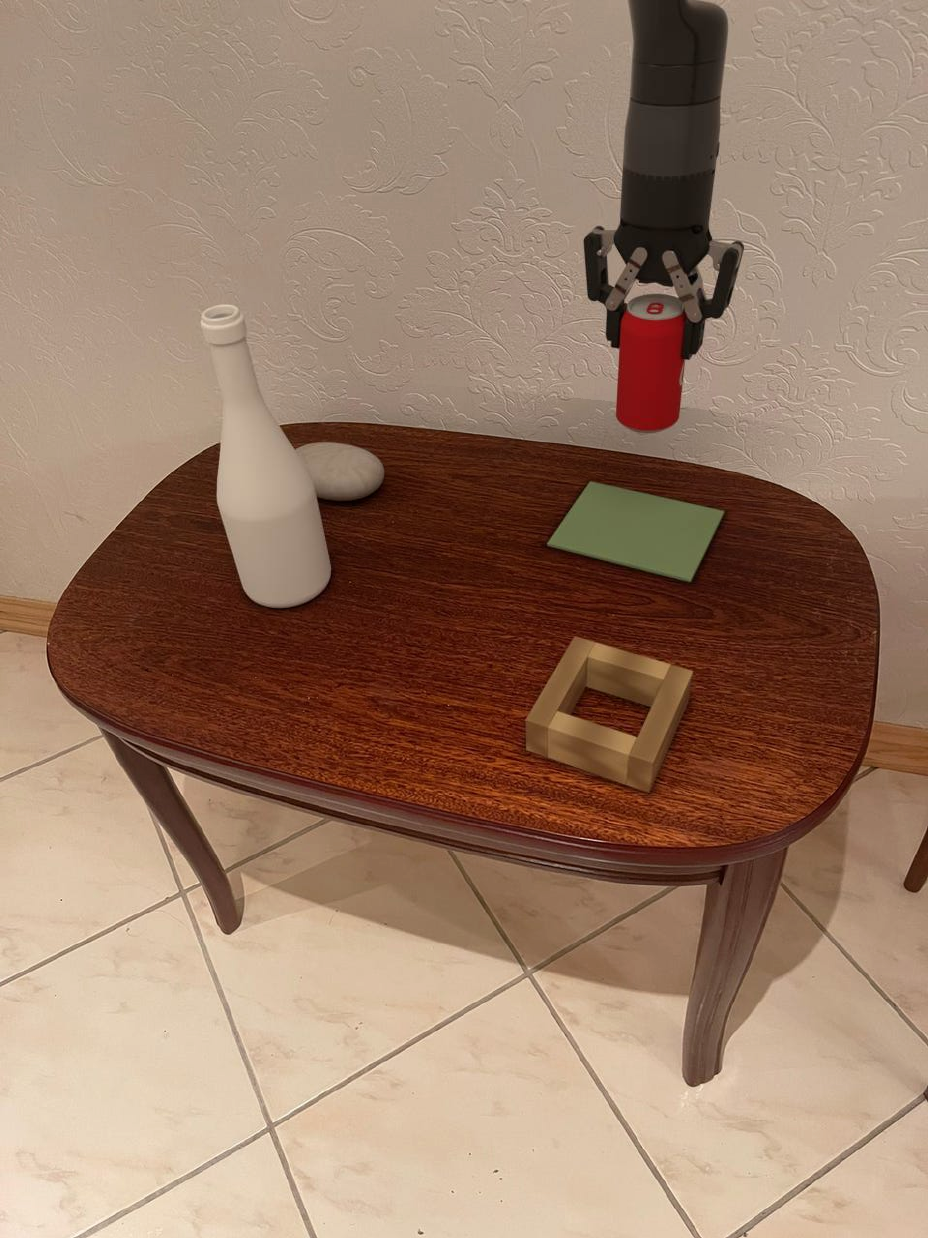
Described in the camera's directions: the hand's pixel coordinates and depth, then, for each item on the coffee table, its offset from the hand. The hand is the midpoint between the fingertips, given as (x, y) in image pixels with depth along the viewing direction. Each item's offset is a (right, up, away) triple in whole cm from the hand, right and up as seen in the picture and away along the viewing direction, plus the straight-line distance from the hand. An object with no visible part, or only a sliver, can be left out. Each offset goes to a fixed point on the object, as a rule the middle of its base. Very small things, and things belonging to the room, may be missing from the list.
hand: (652, 349), depth 84 cm
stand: (-5, -35, -6) cm, 36 cm away
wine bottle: (-37, -22, +12) cm, 44 cm away
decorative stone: (-33, -10, +24) cm, 42 cm away
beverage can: (0, -6, +5) cm, 8 cm away
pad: (+1, -16, +15) cm, 21 cm away
